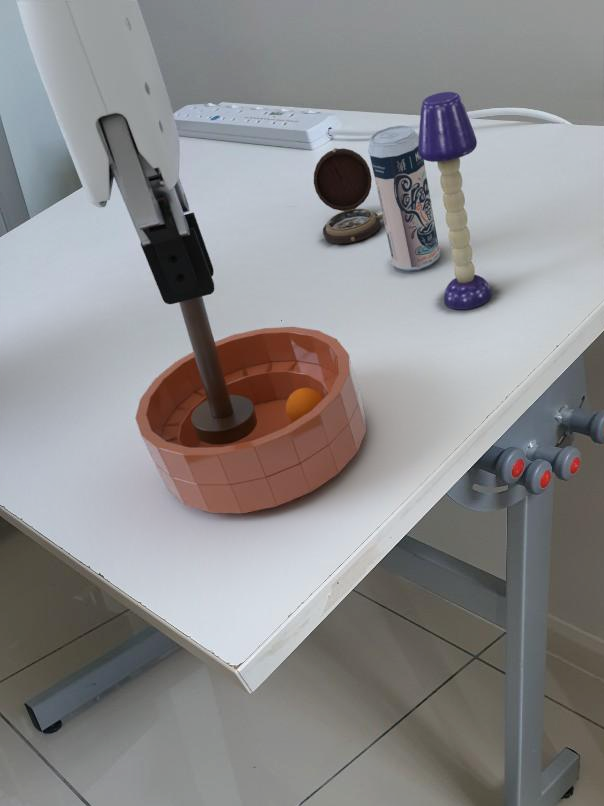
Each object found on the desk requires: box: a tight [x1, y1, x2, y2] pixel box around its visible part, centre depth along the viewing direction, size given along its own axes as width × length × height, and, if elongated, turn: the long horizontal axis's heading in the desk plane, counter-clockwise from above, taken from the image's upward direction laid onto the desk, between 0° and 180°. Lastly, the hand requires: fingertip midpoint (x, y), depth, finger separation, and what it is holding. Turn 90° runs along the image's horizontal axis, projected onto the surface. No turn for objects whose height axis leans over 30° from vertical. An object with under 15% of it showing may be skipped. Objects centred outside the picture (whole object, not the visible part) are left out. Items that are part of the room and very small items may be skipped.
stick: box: [156, 196, 257, 445], centre depth 56 cm, size 4×4×16 cm
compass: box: [313, 147, 384, 244], centre depth 90 cm, size 8×8×7 cm
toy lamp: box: [418, 91, 493, 310], centre depth 72 cm, size 5×5×17 cm
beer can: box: [367, 125, 441, 272], centre depth 80 cm, size 5×5×12 cm
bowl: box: [135, 326, 367, 514], centre depth 64 cm, size 16×16×6 cm
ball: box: [286, 388, 323, 423], centre depth 65 cm, size 3×3×3 cm
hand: (190, 287), depth 54 cm, fingers closed on stick, 1 cm apart
